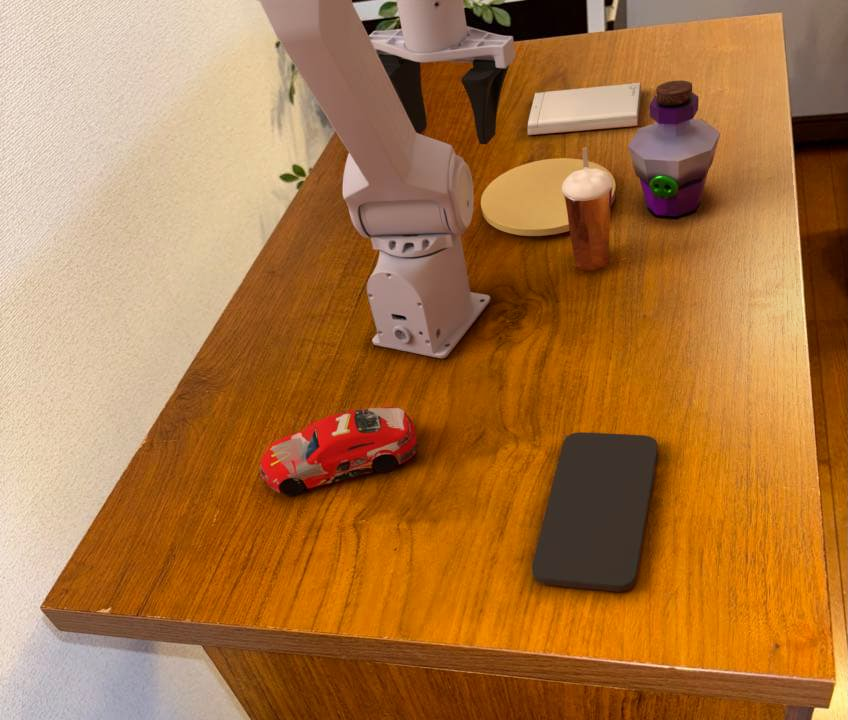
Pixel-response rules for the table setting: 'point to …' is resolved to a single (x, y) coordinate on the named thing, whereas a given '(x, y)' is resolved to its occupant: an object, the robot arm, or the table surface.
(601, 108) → the hard drive
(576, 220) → the milkshake
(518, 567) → the table surface
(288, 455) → the race car
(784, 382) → the table surface
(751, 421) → the table surface
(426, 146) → the robot arm
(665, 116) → the potion bottle
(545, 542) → the phone
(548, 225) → the plate
